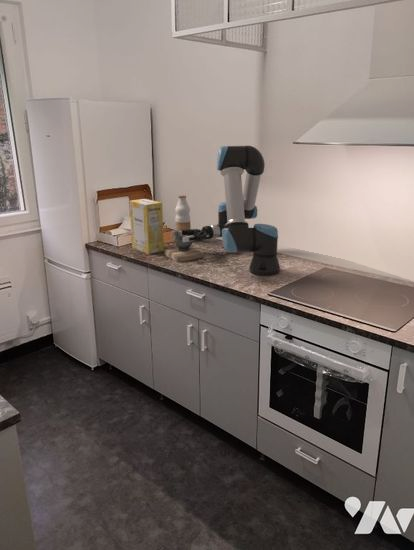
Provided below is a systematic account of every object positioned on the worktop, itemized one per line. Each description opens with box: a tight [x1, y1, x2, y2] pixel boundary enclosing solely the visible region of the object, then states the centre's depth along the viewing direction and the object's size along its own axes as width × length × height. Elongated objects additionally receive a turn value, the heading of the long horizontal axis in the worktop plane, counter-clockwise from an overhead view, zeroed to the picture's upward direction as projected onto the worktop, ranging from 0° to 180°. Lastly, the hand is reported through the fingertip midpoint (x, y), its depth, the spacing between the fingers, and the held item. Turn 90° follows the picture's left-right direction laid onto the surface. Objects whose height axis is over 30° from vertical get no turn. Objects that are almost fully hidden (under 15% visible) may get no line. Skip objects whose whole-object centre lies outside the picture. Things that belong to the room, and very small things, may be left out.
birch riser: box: [164, 246, 202, 263], centre depth 252 cm, size 15×15×4 cm
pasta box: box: [128, 198, 165, 255], centre depth 264 cm, size 18×10×28 cm, turn 39°
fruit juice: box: [174, 194, 192, 236], centre depth 284 cm, size 9×9×28 cm
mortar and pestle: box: [172, 229, 193, 252], centre depth 250 cm, size 11×9×12 cm
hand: (177, 237), depth 248 cm, fingers open, 13 cm apart
